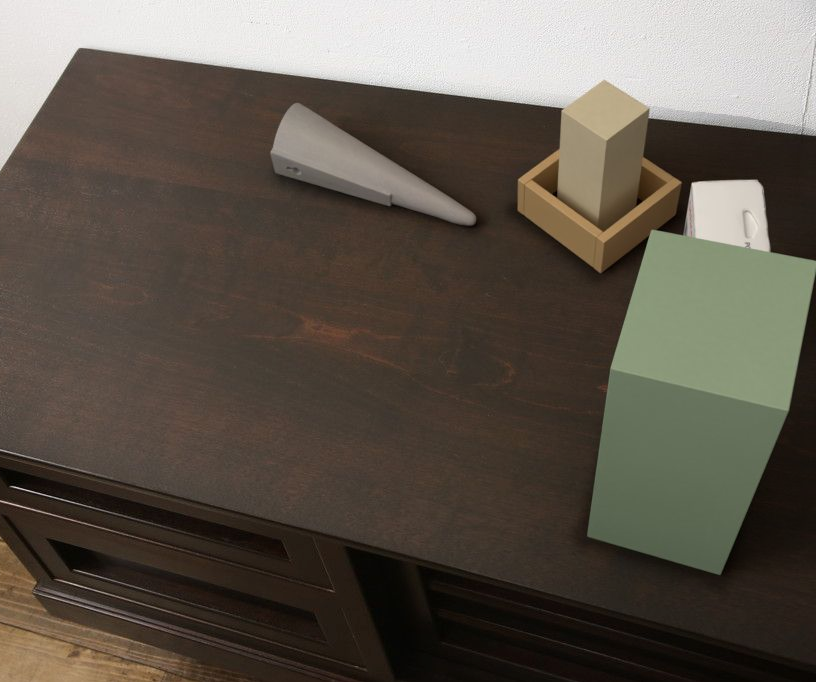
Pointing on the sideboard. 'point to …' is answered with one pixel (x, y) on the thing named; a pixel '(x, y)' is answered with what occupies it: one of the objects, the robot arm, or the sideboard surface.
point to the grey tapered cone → (354, 167)
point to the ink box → (728, 213)
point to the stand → (697, 396)
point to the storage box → (584, 236)
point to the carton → (602, 154)
